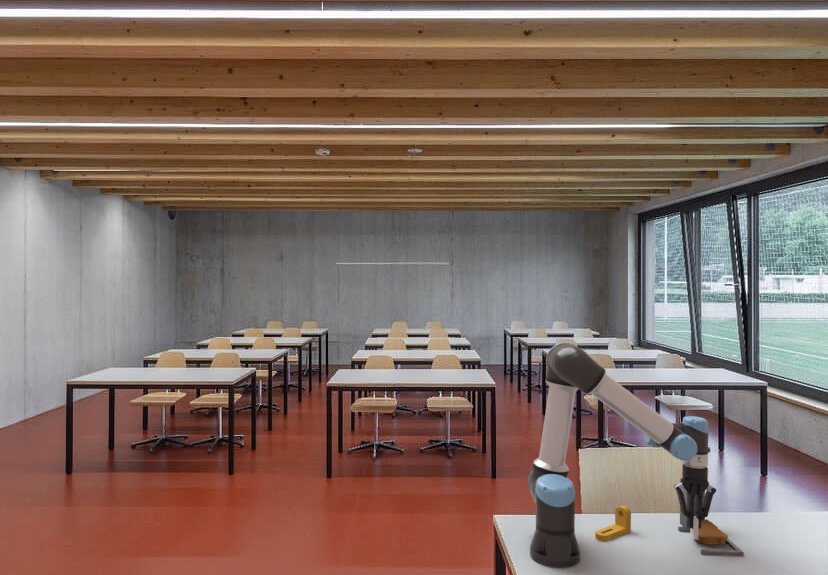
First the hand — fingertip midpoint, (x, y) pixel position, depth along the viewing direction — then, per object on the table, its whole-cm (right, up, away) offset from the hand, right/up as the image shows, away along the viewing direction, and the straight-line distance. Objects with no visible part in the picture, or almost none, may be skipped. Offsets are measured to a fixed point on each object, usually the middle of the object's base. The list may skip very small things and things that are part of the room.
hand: (694, 537), depth 189 cm
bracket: (-25, -2, +6) cm, 26 cm away
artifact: (+6, -2, +2) cm, 6 cm away
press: (+5, -2, +4) cm, 7 cm away
